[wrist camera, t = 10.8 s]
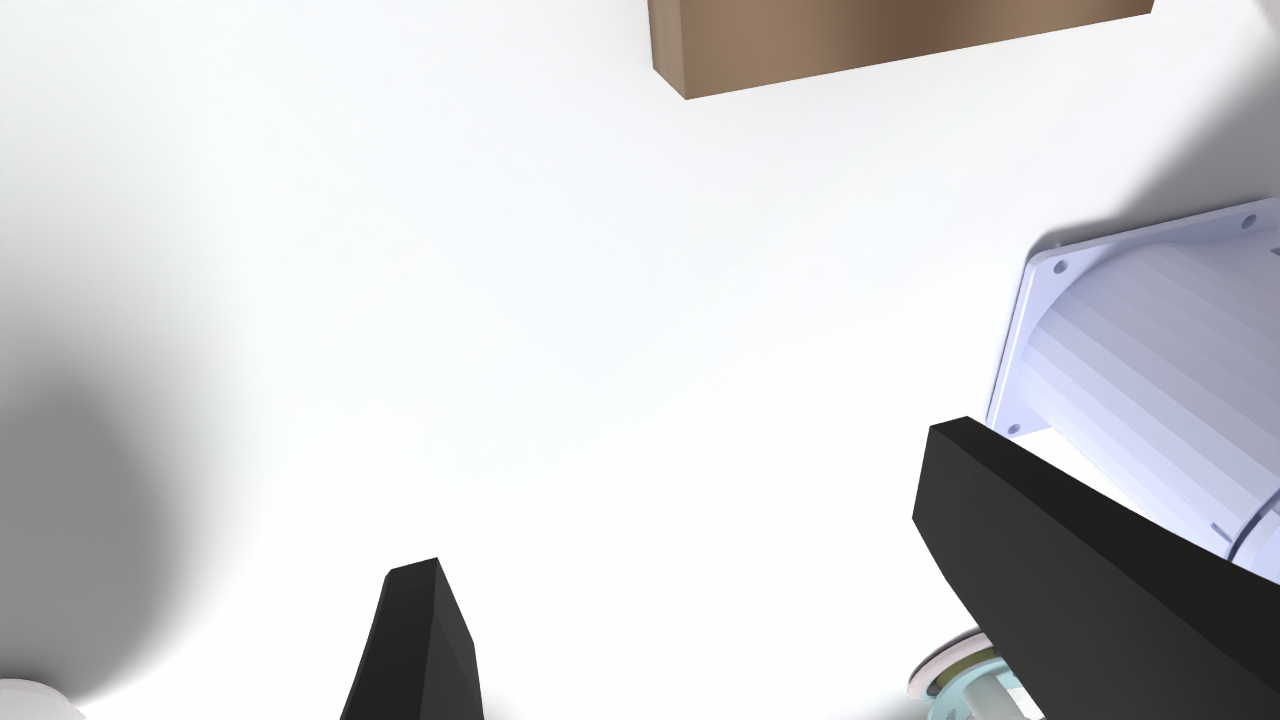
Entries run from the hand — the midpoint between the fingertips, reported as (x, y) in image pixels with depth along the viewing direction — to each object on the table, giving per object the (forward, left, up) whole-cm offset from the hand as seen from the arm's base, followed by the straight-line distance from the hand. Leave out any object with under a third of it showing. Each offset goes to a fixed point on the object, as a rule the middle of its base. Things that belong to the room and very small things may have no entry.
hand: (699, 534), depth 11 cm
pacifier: (-17, +30, -11) cm, 36 cm away
